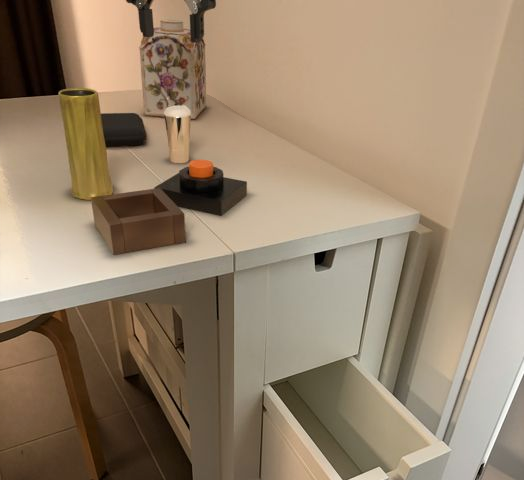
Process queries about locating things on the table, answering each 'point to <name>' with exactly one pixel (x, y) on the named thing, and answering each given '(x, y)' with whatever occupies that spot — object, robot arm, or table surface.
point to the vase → (85, 143)
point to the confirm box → (204, 191)
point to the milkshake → (178, 131)
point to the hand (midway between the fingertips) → (172, 39)
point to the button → (201, 168)
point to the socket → (138, 220)
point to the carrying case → (123, 129)
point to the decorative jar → (172, 70)
